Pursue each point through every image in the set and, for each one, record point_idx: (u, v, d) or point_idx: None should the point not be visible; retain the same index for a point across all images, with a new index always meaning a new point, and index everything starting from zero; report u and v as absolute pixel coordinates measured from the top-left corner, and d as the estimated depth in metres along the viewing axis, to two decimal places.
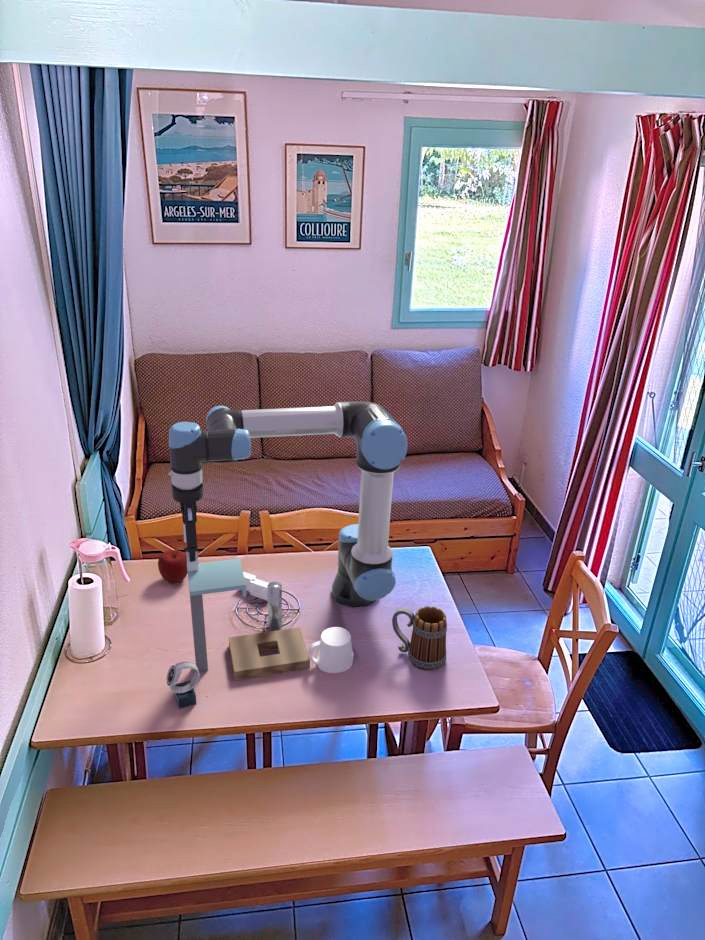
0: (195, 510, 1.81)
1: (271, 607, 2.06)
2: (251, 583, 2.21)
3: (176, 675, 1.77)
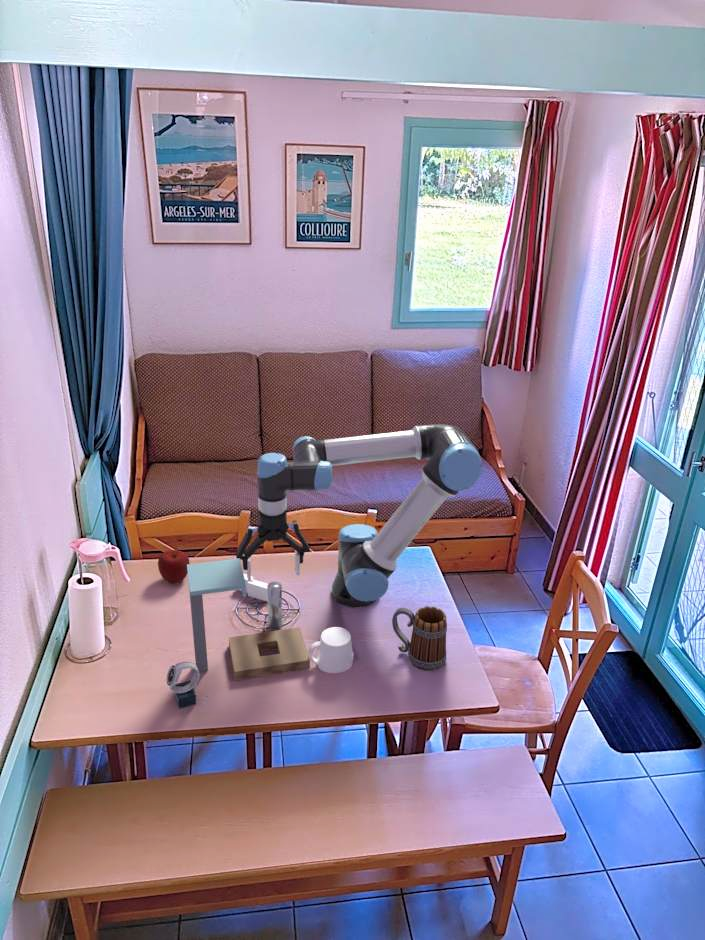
0: (265, 534, 1.94)
1: (271, 607, 2.06)
2: (249, 584, 2.21)
3: (176, 675, 1.77)
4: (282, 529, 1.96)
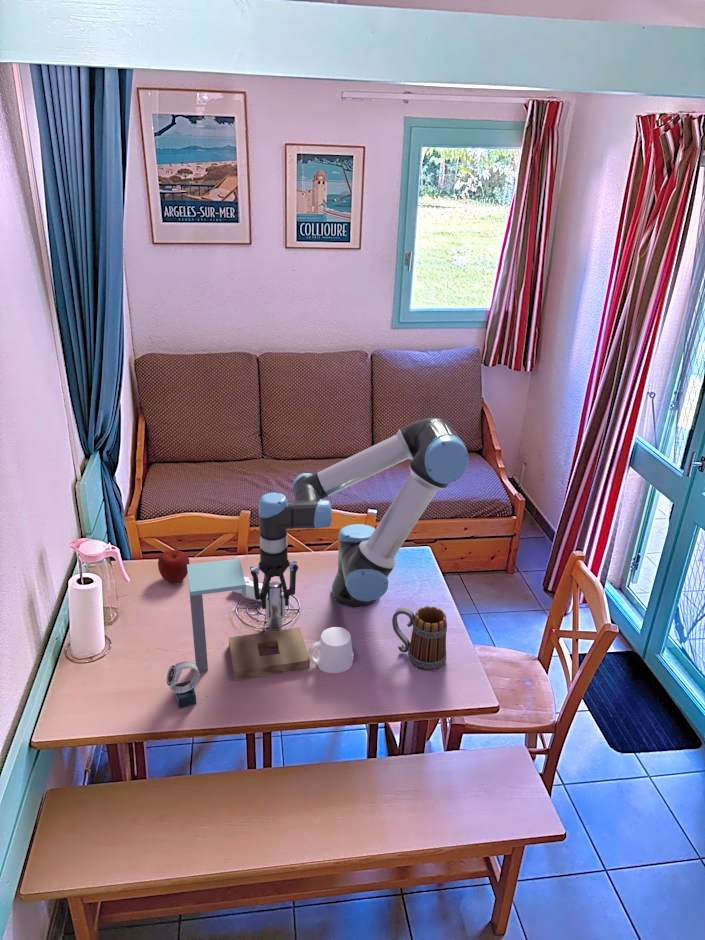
0: (267, 572, 2.00)
1: (271, 607, 2.06)
2: (246, 585, 2.20)
3: (176, 675, 1.77)
4: (283, 564, 2.01)
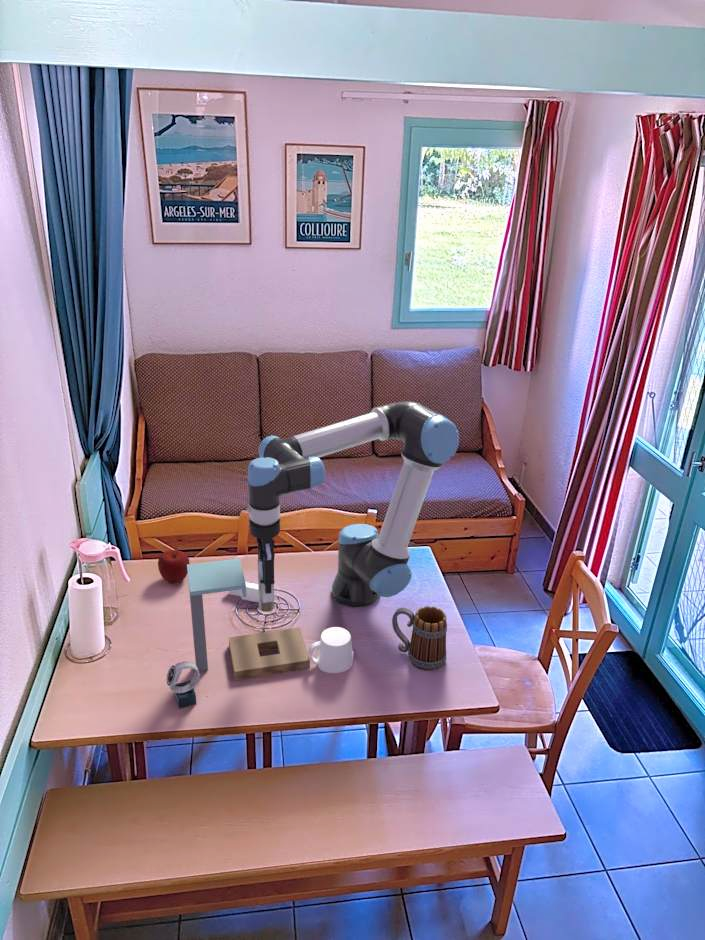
0: (272, 546, 1.81)
1: None
2: None
3: (176, 675, 1.77)
4: None
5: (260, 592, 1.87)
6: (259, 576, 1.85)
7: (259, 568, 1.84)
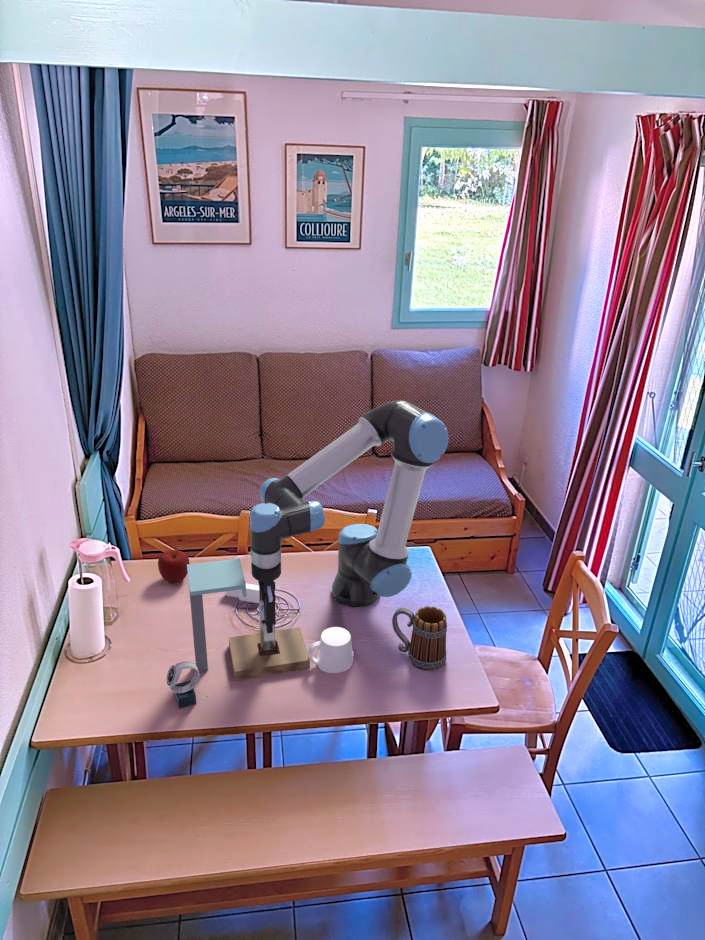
0: (274, 588, 1.86)
1: None
2: None
3: (176, 675, 1.77)
4: None
5: (261, 631, 1.93)
6: (260, 616, 1.91)
7: (260, 608, 1.90)
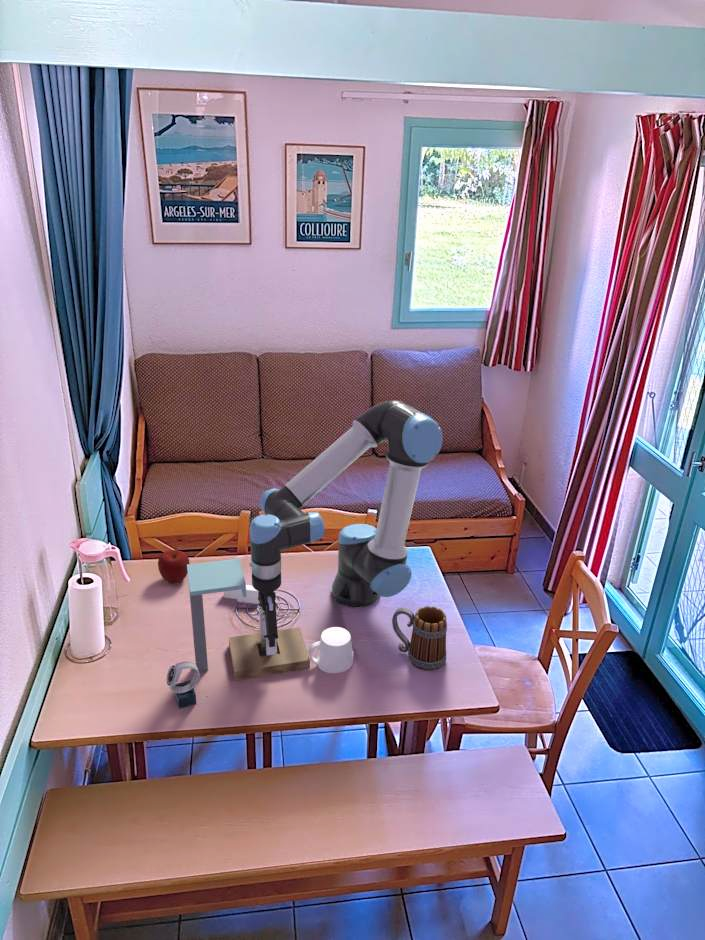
0: (274, 598, 1.88)
1: None
2: None
3: (176, 675, 1.77)
4: None
5: (262, 644, 1.95)
6: (261, 629, 1.93)
7: (261, 622, 1.92)
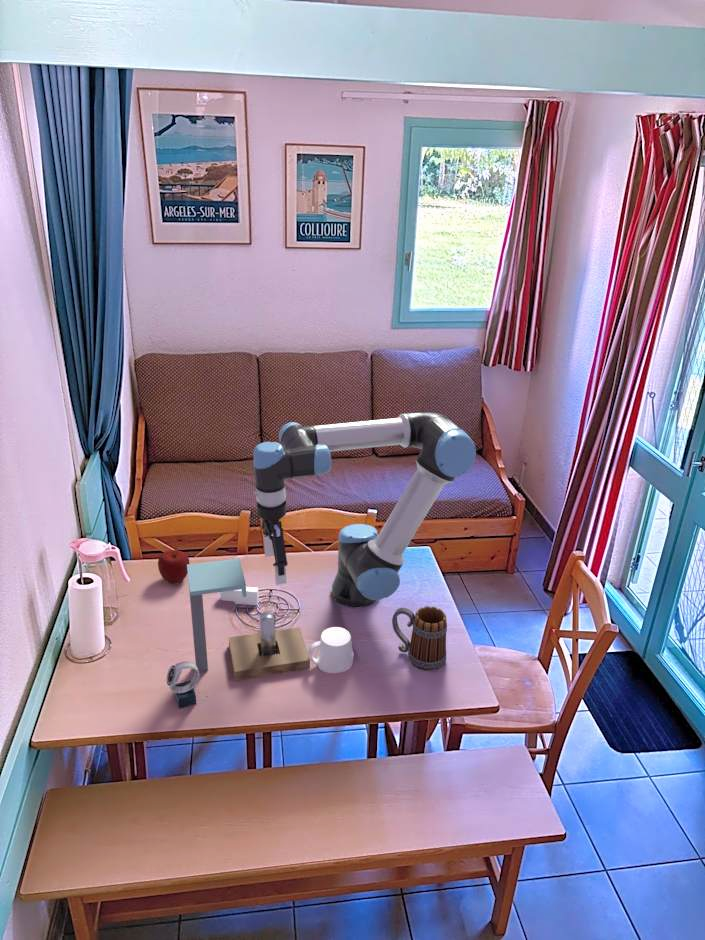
0: (280, 526, 1.88)
1: (274, 636, 1.95)
2: (236, 591, 2.17)
3: (176, 675, 1.77)
4: None
5: (262, 644, 1.95)
6: (261, 629, 1.93)
7: (261, 622, 1.92)
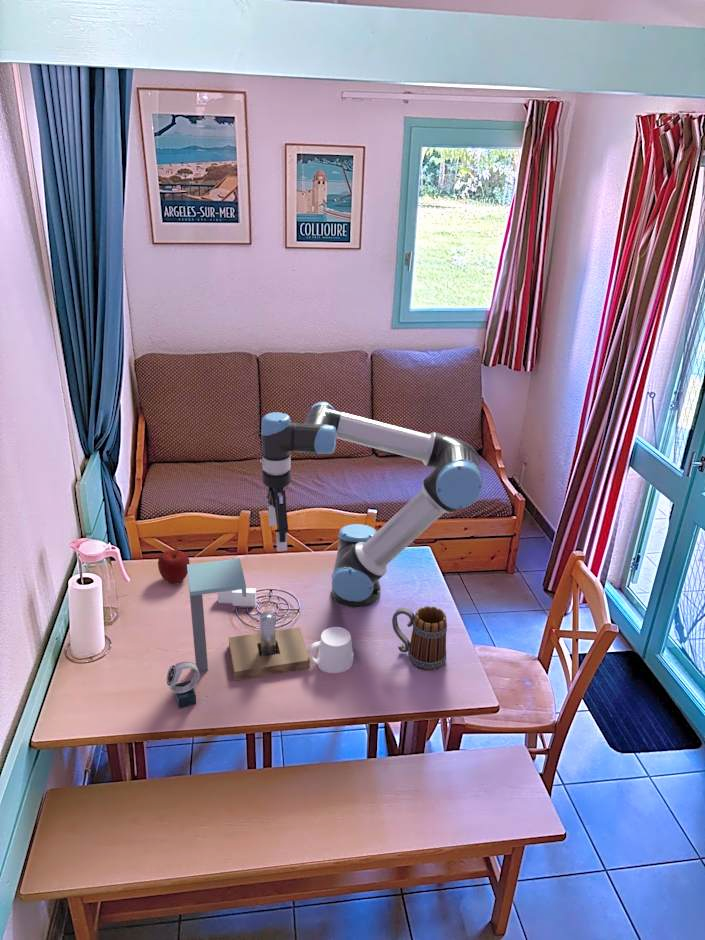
0: (284, 494, 1.96)
1: (274, 636, 1.95)
2: (234, 593, 2.17)
3: (176, 675, 1.77)
4: None
5: (262, 644, 1.95)
6: (261, 629, 1.93)
7: (261, 622, 1.92)
